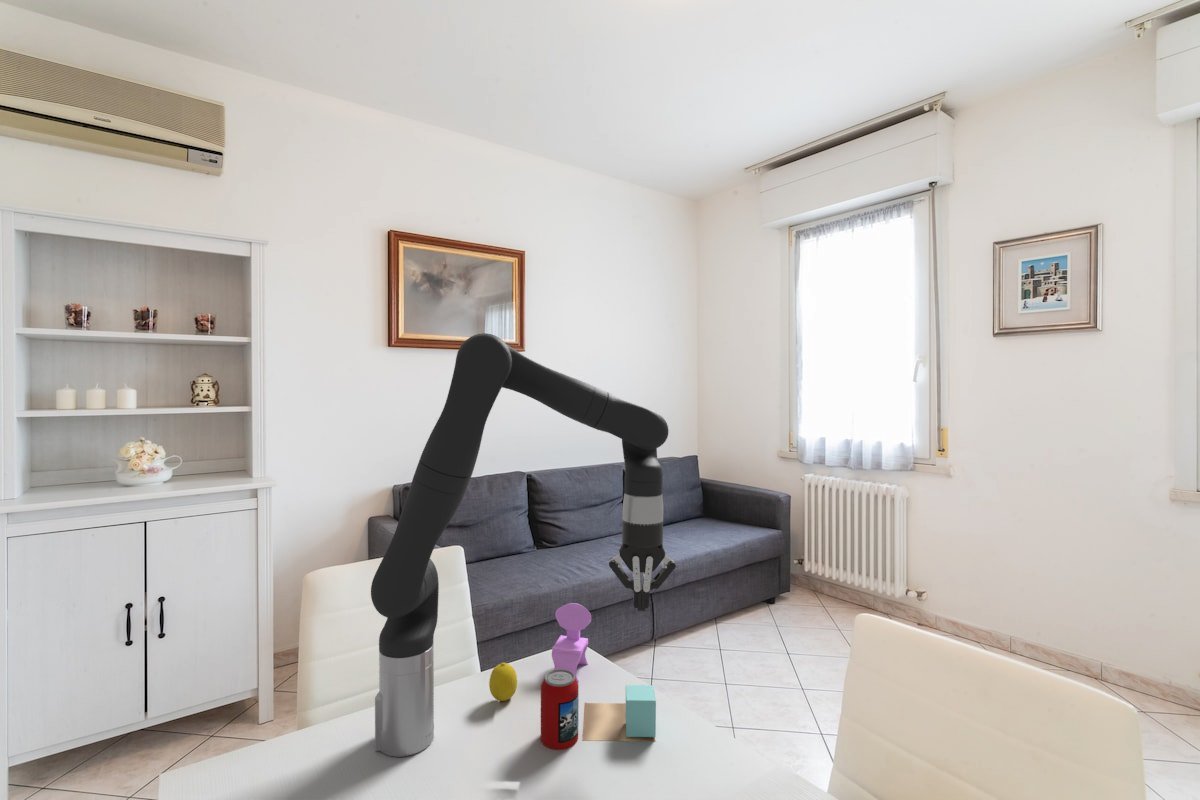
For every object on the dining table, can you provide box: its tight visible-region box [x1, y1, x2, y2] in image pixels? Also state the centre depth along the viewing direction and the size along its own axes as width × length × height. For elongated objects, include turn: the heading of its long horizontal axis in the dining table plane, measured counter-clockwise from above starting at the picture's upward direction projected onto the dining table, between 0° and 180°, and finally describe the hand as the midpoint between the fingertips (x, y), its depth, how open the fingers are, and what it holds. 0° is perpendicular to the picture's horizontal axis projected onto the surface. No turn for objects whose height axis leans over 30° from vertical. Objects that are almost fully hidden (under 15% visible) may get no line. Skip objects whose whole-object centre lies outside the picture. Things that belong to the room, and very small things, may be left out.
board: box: [582, 702, 656, 742], centre depth 109 cm, size 13×12×1 cm
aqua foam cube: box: [625, 684, 657, 738], centre depth 106 cm, size 5×5×7 cm
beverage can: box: [540, 669, 580, 751], centre depth 103 cm, size 7×7×12 cm
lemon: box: [488, 662, 518, 702], centre depth 116 cm, size 6×6×8 cm
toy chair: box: [551, 602, 592, 683], centre depth 127 cm, size 8×9×15 cm
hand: (641, 609), depth 108 cm, fingers closed
